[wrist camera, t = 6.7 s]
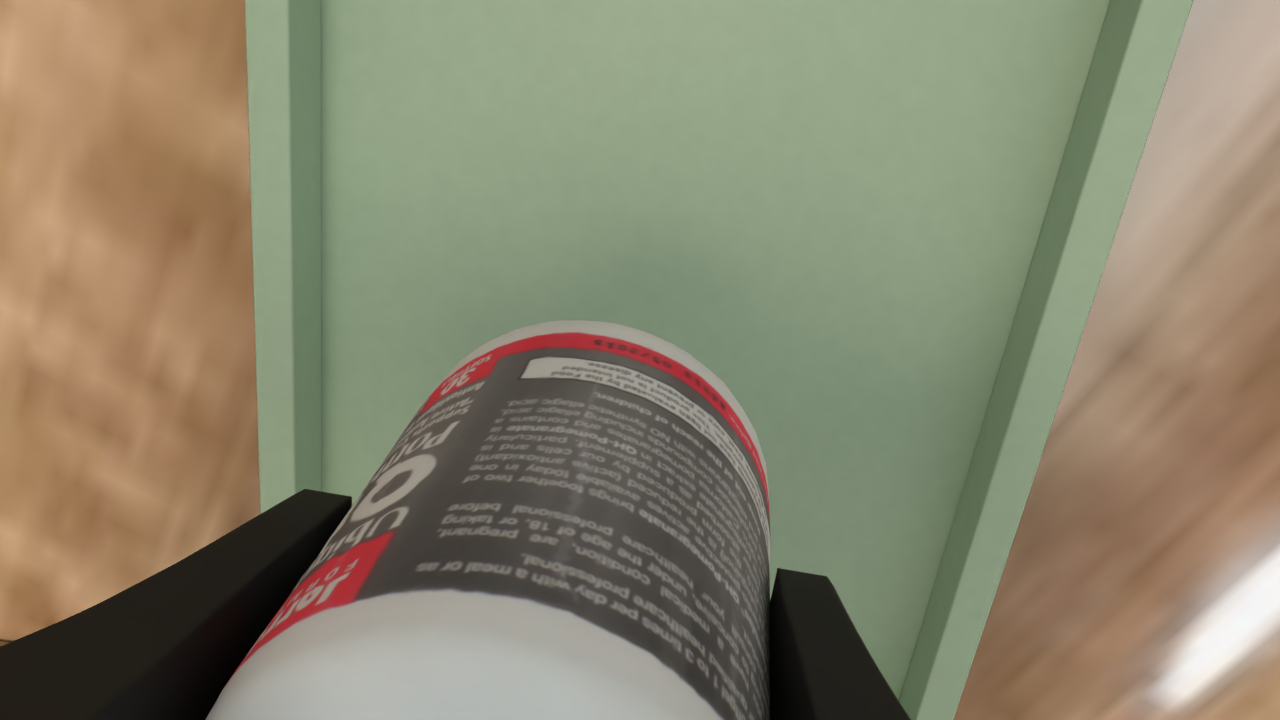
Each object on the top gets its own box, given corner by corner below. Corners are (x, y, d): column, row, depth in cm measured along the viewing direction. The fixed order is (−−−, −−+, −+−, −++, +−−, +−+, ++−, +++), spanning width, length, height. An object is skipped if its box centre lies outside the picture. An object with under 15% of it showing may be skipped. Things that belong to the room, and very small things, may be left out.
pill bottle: (441, 269, 14) (-91, 854, 5) (814, 360, 14) (900, 1102, 5) (397, 577, 17) (-30, 1351, 8) (720, 657, 16) (671, 1533, 8)
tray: (917, 727, 25) (930, 790, 23) (299, 619, 26) (264, 673, 24) (1199, -164, 17) (1252, -173, 15) (287, -286, 18) (233, -309, 16)
